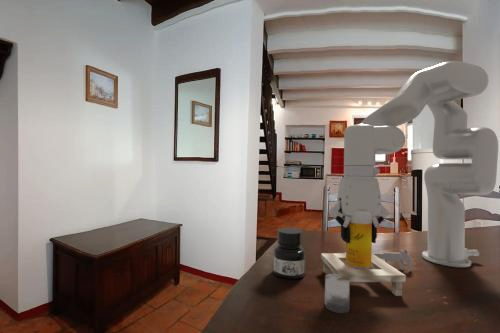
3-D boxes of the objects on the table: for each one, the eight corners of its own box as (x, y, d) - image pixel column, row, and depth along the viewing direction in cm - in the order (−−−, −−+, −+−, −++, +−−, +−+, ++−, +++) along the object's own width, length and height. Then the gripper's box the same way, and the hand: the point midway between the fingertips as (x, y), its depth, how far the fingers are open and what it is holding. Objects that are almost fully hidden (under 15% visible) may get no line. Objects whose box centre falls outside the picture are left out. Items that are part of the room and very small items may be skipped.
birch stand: (371, 270, 73) (371, 253, 73) (405, 296, 58) (405, 275, 58) (320, 270, 72) (321, 253, 72) (341, 297, 57) (341, 275, 57)
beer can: (341, 262, 68) (342, 206, 68) (363, 261, 68) (363, 206, 68) (353, 271, 62) (353, 210, 62) (376, 270, 62) (376, 210, 62)
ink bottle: (269, 277, 67) (269, 233, 67) (275, 265, 76) (275, 226, 76) (306, 282, 65) (306, 236, 65) (307, 269, 73) (307, 228, 73)
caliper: (411, 272, 72) (411, 250, 72) (410, 273, 72) (410, 251, 72) (344, 254, 87) (344, 236, 87) (342, 254, 86) (342, 236, 87)
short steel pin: (343, 300, 56) (343, 273, 56) (353, 312, 51) (353, 283, 51) (321, 300, 56) (321, 273, 56) (329, 313, 51) (329, 283, 51)
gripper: (383, 172, 69) (382, 237, 69) (321, 172, 69) (321, 237, 68) (400, 173, 62) (400, 246, 62) (331, 172, 61) (331, 245, 61)
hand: (358, 240), depth 65 cm, fingers closed on beer can, 6 cm apart
